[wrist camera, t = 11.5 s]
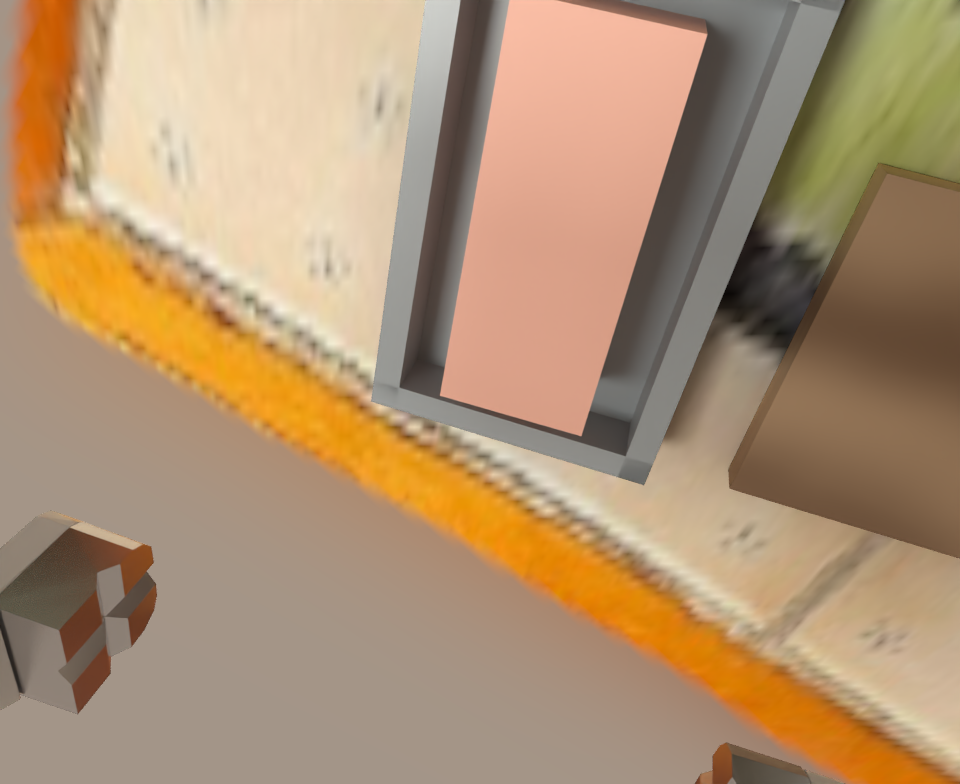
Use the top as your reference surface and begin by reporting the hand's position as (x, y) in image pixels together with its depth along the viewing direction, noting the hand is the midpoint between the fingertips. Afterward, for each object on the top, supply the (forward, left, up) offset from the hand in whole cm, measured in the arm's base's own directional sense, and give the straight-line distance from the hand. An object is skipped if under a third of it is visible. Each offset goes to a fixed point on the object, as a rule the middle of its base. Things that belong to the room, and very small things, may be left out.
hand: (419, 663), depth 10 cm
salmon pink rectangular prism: (-2, 0, -14) cm, 14 cm away
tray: (-2, 0, -14) cm, 14 cm away
